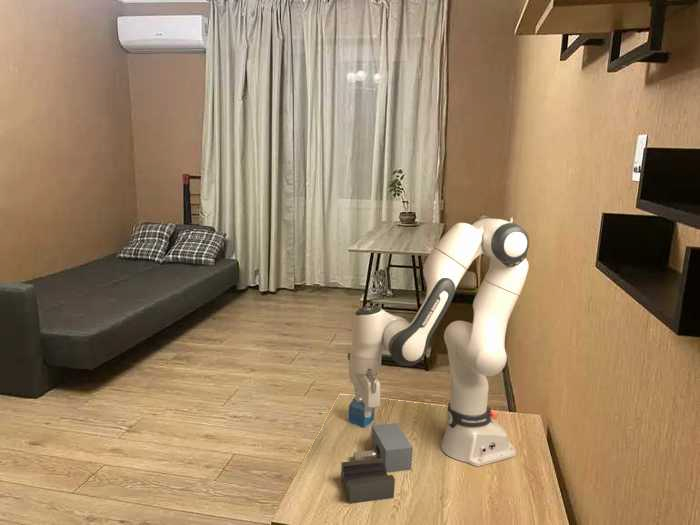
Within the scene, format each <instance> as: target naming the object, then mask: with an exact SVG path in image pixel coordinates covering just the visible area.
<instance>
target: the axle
mask: <svg viewBox="0 0 700 525" xmlns="http://www.w3.org/2000/svg"><path fill="white" fill-rule="evenodd" d="M352 457H353V461H357V460H366V459H376V458H380V449H378V450H373V449H371V450H370V449H369V450H360V451H354V452H353V456H352Z"/></svg>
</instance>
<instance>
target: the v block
mask: <svg viewBox="0 0 700 525" xmlns="http://www.w3.org/2000/svg"><path fill="white" fill-rule="evenodd" d="M386 470H387V469H386V467H385V460H384V458H376V459H366V460H357V461H354V460H350V461H342V462H341V466H340V482H341V484H342V487H343V490H344V492H345V495H346V498H347V500H348V503H349V504H357V503H365V502H372V501H382V500H388V499H389V500H390V499H394V498H395V482H396V478H395V476H394V475H393V474H388V472H387V473H386Z"/></svg>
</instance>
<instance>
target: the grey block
mask: <svg viewBox="0 0 700 525" xmlns="http://www.w3.org/2000/svg"><path fill="white" fill-rule="evenodd" d="M370 438H371V439H370V447H371V450H378V449H380V458H384V460H385V467H386V469H387V470H386V473H387V474H388V473H394V472H402V471H410V470H412V464H413V445H411V443H410V441H409V439H408V438H407V437H406V435H405V433H404V432H403V431H402V429H401V427H400V426H399V424H398V423H397V422H394V423H393V422H392V423H391V422H390V423H383V424H382V423H381V424H372V425H371V437H370Z"/></svg>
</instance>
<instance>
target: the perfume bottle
mask: <svg viewBox="0 0 700 525" xmlns="http://www.w3.org/2000/svg"><path fill="white" fill-rule="evenodd" d="M364 409H365V404H364V403H363V401H361V402H357V401H356V399H355V397H354V398H352V401H351V402H350V404H349V405H348V423H349V422H350V423H349V424H351V423H352V425H354V424H355V426H357V427H359V426H360V427H359V428H362V429H365V428H366V427H368V426H369V425H371V424H372V423H373V422H374V421H375V409H376V408H374V409H372V411H371V417H365V416H364ZM373 420H374V421H373ZM372 421H373V422H372ZM371 422H372V423H371ZM367 425H368V426H367Z"/></svg>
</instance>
